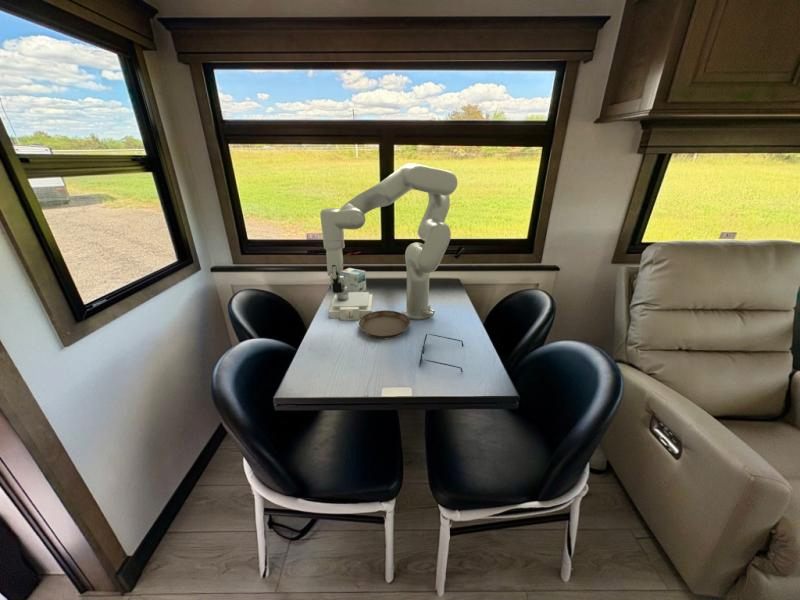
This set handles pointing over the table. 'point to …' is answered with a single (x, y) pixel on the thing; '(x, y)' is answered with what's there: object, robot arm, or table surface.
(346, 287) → the ball
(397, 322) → the plant saucer
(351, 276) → the light bulb box
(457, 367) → the sunglasses
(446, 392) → the table surface
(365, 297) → the scale
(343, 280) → the cylinder
